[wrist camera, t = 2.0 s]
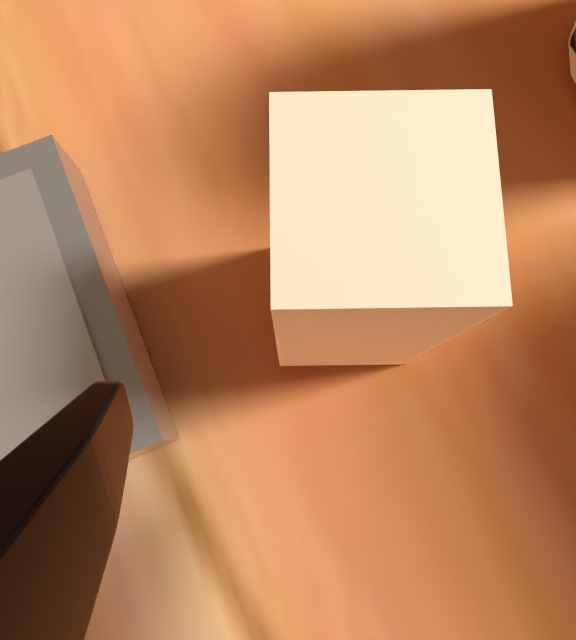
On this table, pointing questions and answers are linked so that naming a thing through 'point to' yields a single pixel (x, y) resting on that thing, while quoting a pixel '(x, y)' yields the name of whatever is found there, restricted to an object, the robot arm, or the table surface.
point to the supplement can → (572, 52)
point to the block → (383, 223)
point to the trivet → (64, 304)
